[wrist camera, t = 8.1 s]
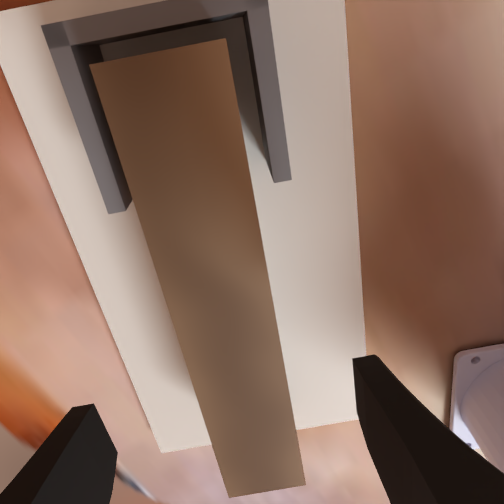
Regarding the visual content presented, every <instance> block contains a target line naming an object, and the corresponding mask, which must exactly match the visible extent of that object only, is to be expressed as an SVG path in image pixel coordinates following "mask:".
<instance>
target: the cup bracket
mask: <svg viewBox="0 0 504 504" xmlns="http://www.w3.org/2000/svg"><path fill="white" fill-rule="evenodd" d="M224 38H226V41H227V47H228V52H229V58H230V63H231V69H232V75H233V80H234V86H235V91H236V97H237V103H238V108H239V114H240V119H241V125H242V131H243V136H244V142H245V147H246V153H247V158H248V164H249V170H250V175H251V181H252V186H253V192H254V198H255V203H256V209H257V214H258V220H259V226H260V231H261V237H262V242H263V248H264V253H265V259H266V265H267V270H268V276H269V281H270V287H271V293H272V298H273V304H274V309H275V315H276V321H277V326H278V332H279V337H280V343H281V348H282V354H283V360H284V365H285V371H286V376H287V382H288V388H289V393H290V399H291V404H292V410H293V415H294V421H295V427H296V430H299V429H305V428H311V427H317V426H322V425H328V424H334V423H340V422H346V421H351V420H357V419H359V418H358V415H357V411H356V398H355V386H354V374H353V362H352V358H358V357H364V356H366V342H365V326H364V309H363V293H362V276H361V260H360V243H359V227H358V210H357V194H356V177H355V161H354V144H353V128H352V111H351V95H350V78H349V62H348V45H347V29H346V12H345V0H53V1H48V2H43V3H38V4H33V5H28V6H23V7H18V8H13V9H8V10H3V11H0V65H1V68H2V70H3V73H4V75H5V77H6V80H7V82H8V85H9V87H10V89H11V92H12V94H13V97H14V99H15V102H16V104H17V106H18V109H19V111H20V114H21V116H22V118H23V121H24V123H25V126H26V128H27V130H28V133H29V135H30V138H31V140H32V142H33V145H34V147H35V150H36V152H37V155H38V157H39V159H40V162H41V164H42V167H43V169H44V171H45V174H46V176H47V179H48V181H49V183H50V186H51V188H52V191H53V193H54V195H55V198H56V200H57V203H58V205H59V208H60V210H61V212H62V215H63V217H64V220H65V222H66V224H67V227H68V229H69V232H70V234H71V236H72V239H73V241H74V244H75V246H76V248H77V251H78V253H79V256H80V258H81V260H82V263H83V265H84V268H85V270H86V273H87V275H88V277H89V280H90V282H91V285H92V287H93V289H94V292H95V294H96V297H97V299H98V301H99V304H100V306H101V309H102V311H103V313H104V316H105V318H106V321H107V323H108V326H109V328H110V330H111V333H112V335H113V338H114V340H115V342H116V345H117V347H118V350H119V352H120V354H121V357H122V359H123V362H124V364H125V366H126V369H127V371H128V374H129V376H130V379H131V381H132V383H133V386H134V388H135V391H136V393H137V395H138V398H139V400H140V403H141V405H142V407H143V410H144V412H145V415H146V417H147V419H148V422H149V424H150V427H151V429H152V432H153V434H154V436H155V439H156V441H157V444H158V446H159V448H160V451H161V453H166V452H172V451H178V450H184V449H189V448H195V447H201V446H207V445H212V444H211V441H210V437H209V434H208V431H207V428H206V425H205V422H204V419H203V416H202V413H201V410H200V406H199V403H198V400H197V397H196V394H195V391H194V388H193V385H192V382H191V379H190V375H189V372H188V369H187V366H186V363H185V360H184V357H183V354H182V351H181V348H180V345H179V341H178V338H177V335H176V332H175V329H174V326H173V323H172V320H171V317H170V314H169V310H168V307H167V304H166V301H165V298H164V295H163V292H162V289H161V286H160V283H159V280H158V276H157V273H156V270H155V267H154V264H153V261H152V258H151V255H150V252H149V249H148V245H147V242H146V239H145V236H144V233H143V230H142V227H141V224H140V221H139V218H138V215H137V211H136V208H135V205H134V202H133V199H132V196H131V193H130V190H129V187H128V184H127V180H126V177H125V174H124V171H123V168H122V165H121V162H120V159H119V156H118V153H117V149H116V146H115V143H114V140H113V137H112V134H111V131H110V128H109V125H108V122H107V119H106V115H105V112H104V109H103V106H102V103H101V100H100V97H99V94H98V91H97V88H96V84H95V81H94V78H93V75H92V72H91V69H90V66H89V65H90V64H95V63H100V62H106V61H111V60H116V59H121V58H126V57H131V56H136V55H142V54H147V53H152V52H157V51H162V50H167V49H172V48H178V47H183V46H188V45H193V44H198V43H203V42H208V41H213V40H219V39H224Z"/></svg>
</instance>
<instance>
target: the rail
mask: <svg viewBox="0 0 504 504" xmlns="http://www.w3.org/2000/svg"><path fill="white" fill-rule="evenodd" d="M89 66H90V69H91V72H92V75H93V78H94V81H95V84H96V88H97V91H98V94H99V97H100V100H101V103H102V106H103V109H104V112H105V115H106V119H107V122H108V125H109V128H110V131H111V134H112V137H113V140H114V143H115V146H116V149H117V153H118V156H119V159H120V162H121V165H122V168H123V171H124V174H125V177H126V180H127V184H128V187H129V190H130V193H131V196H132V199H133V202H134V205H135V208H136V211H137V215H138V218H139V221H140V224H141V227H142V230H143V233H144V236H145V239H146V242H147V245H148V249H149V252H150V255H151V258H152V261H153V264H154V267H155V270H156V273H157V276H158V280H159V283H160V286H161V289H162V292H163V295H164V298H165V301H166V304H167V307H168V310H169V314H170V317H171V320H172V323H173V326H174V329H175V332H176V335H177V338H178V341H179V345H180V348H181V351H182V354H183V357H184V360H185V363H186V366H187V369H188V372H189V375H190V379H191V382H192V385H193V388H194V391H195V394H196V397H197V400H198V403H199V406H200V410H201V413H202V416H203V419H204V422H205V425H206V428H207V431H208V434H209V437H210V441H211V444H212V447H213V450H214V453H215V456H216V459H217V462H218V465H219V468H220V471H221V475H222V478H223V481H224V484H225V487H226V490H227V493H228V496H229V498H231V497H237V496H243V495H249V494H255V493H261V492H267V491H273V490H279V489H285V488H291V487H297V486H302V485H306V483H305V477H304V471H303V466H302V460H301V455H300V449H299V443H298V438H297V432H296V427H295V421H294V415H293V410H292V404H291V399H290V393H289V388H288V382H287V376H286V371H285V365H284V360H283V354H282V348H281V343H280V337H279V332H278V326H277V321H276V315H275V309H274V304H273V298H272V293H271V287H270V281H269V276H268V270H267V265H266V259H265V253H264V248H263V242H262V237H261V231H260V226H259V220H258V214H257V209H256V203H255V198H254V192H253V186H252V181H251V175H250V170H249V164H248V158H247V153H246V147H245V142H244V136H243V131H242V125H241V119H240V114H239V108H238V103H237V97H236V91H235V86H234V80H233V75H232V69H231V63H230V58H229V52H228V47H227V41H226V38H224V39H219V40H213V41H208V42H203V43H198V44H193V45H188V46H183V47H178V48H172V49H167V50H162V51H157V52H152V53H147V54H142V55H136V56H131V57H126V58H121V59H116V60H111V61H106V62H100V63H95V64H90V65H89Z"/></svg>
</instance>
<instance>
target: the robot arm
mask: <svg viewBox="0 0 504 504" xmlns="http://www.w3.org/2000/svg"><path fill="white" fill-rule="evenodd" d="M473 357H475V358H473ZM472 358H473V359H472ZM352 362H353V374H354V386H355V398H356V411H357V415H358V418H359V421H360V425H361V428H362V431H363V435H364V438H365V441H366V444H367V447H368V450H369V453H370V455H371V457H372V460H373V462H374V465H375V467H376V469H377V472H378V474H379V477H380V479H381V481H382V484H383V486H384V488H385V491H386V493H387V496H388V498H389V500H390V503H391V504H504V343H503V344H498V345H492V346H486V347H481V348H475V349H469V350H464V351H460V352H459V353H457V354H456V356H455V358H454V367H453V382H452V397H451V412H450V427H449V428H448V427H447V426H445V425H444V424H443V423H442V422H441V421H440V420H439V419H438V418H437V417H436V416H435V415H433V414H432V413H431V412H430V411H429V410H428V409H427V408H426V407H425V406H424V405H423V404H422V403H421V402H420V401H419V400H418V399H417V398H416V397H415V396H414V395H413V394H412V393H411V392H410V391H409V390H408V389H407V388H406V387H405V386H404V385H403V384H402V383H401V382H400V381H399V380H398V379H397V378H396V376H395V375H394V374H393V373H392V372H391V371H390V370H389V369H388V368H387V366H386V365H385V364H384V363H383V362H382V361H381V359H380V358H379V357H377V356H376V355H369V356H364V357H358V358H352ZM474 449H481V451H482V452H483V454H484V455H485V457H486V459H487V460H488V461H487V460H486V459H485V458H483V457H482V456H481V455H480V454H478V453H477V452H476V451H475V450H474ZM117 453H118V452H117V450H116V448H115V446H114V444H113V442H112V440H111V438H110V436H109V434H108V432H107V430H106V428H105V426H104V424H103V422H102V420H101V417H100V415H99V413H98V411H97V409H96V407H95V405H94V404H89V405H83V406H77V407H72V408H71V410H70V411H69V412H68V413H67V414H66V415H65V417H64V418H63V419H62V420H61V422H60V423H59V424H58V425H57V426H56V428H55V429H54V430H53V431H52V433H51V434H50V435H49V436H48V438H47V439H46V440H45V441H44V443H43V444H42V445H41V446H40V447H39V449H38V450H37V451H36V452H35V454H34V455H33V456H32V457H31V459H30V460H29V461H28V462H27V463H26V465H25V466H24V467H23V468H22V469H21V471H20V472H19V473H18V474H17V475H16V477H15V478H14V479H13V480H12V482H11V483H10V484H9V485H8V486H7V487H6V488H5V489H4V490H3V492H2V493H1V494H0V504H109V502H110V498H111V495H112V490H113V483H114V477H115V469H116V461H117Z"/></svg>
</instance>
